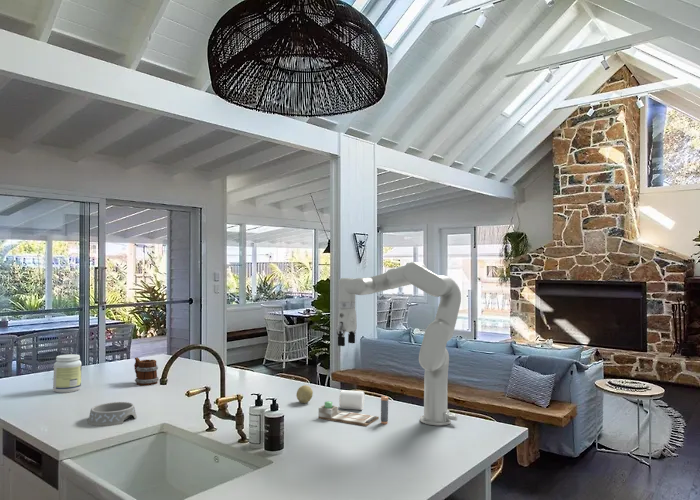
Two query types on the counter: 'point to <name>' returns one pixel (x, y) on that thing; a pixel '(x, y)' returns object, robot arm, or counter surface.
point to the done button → (328, 404)
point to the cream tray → (345, 416)
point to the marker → (384, 410)
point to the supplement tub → (67, 373)
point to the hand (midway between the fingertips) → (346, 344)
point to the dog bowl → (111, 413)
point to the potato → (304, 394)
